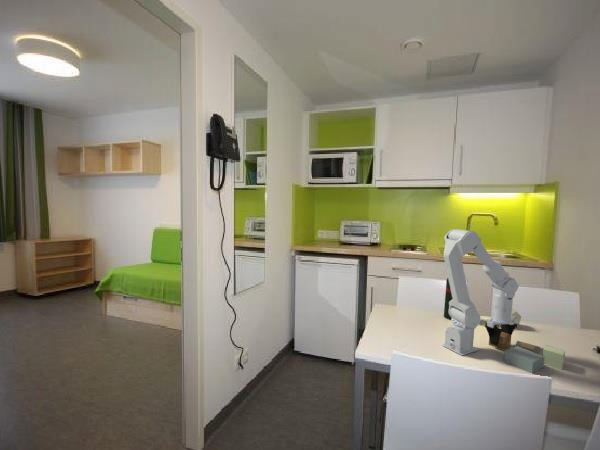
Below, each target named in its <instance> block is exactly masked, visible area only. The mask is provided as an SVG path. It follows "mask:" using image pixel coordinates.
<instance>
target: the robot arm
mask: <svg viewBox="0 0 600 450" xmlns="http://www.w3.org/2000/svg"><path fill="white" fill-rule="evenodd" d="M482 241H483V240H482V237H480V236H479V234H478V233H477V232H476V231H474V230H467V229H458V228H450V230H449V231H448V232H447V233H445V235H444V243H445V244H444V250H443V260H444V264H445V270H446V274H447V278H448V279H449V284H450V289H451V294H452V298H453V299H452V300H451V301H450V302H449V315H450V317H451V318H452V319H451V320H450V321H451V325H450V326H449V327H447V328H446V329H445V339H444V343H443V344H442V346H443V347H445V348H447V349H448V350H451V351H453V352H454V353H456V354H458V355H461V356H465V355H468V354H470V353H474V352H477V351H479V349H478V347H475V346H474V337H475V329H477V327H478V326H479V325H480V324H481V315H480V314H479V312H478V311H477V307H476V305H475V304H474V303H473V301H472V300H471V299H470V294H469V289H468V285H467V280H466V279H467V278H466V275H465V274H466V273H465V270H464V265H463V260H462V259H463V258H464V256H466V255H468V254H469V253H470V252H472V253H473V254H474V256H475V257H476V258H477V260H479V261H480V263H481V264H482V265H483V266H482V270H483V271H484V273H485V274H486V275H487V276H488V278H489V280H490V285H491V287H493V288H494V294H493V296H494V297H493V308H492V316H491V318H490V319H489V320H487V321H486V323H485V324H484V327H485V329H486V331H487V334H488V340H489V339H490V343H491V344H493V345H495V346H497V344H498V341H499V337H500V334H501V332H504V333H507V334H509V335H511V336H512V335H513V333H514V331H515V329H516V328H517V327H518V325H517V324H516V323H514V322H515V317H514V316H511V315H512V308H513V303H514V298H515V296H516V292H517V291H518V290H519V289H518V288H519V285H518V282H517V281H516V280H515V278H513V277H510V275H509V272H508V271H506V270H505V268H504V267H503V264H502V262H501V261H498V260H494V259H493V258H492V256H491V255H490V254H489V251H488V250H487V249H486V246H485V245H484V244H483V243H482ZM499 326H500V328H499Z"/></svg>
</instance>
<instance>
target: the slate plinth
mask: <svg viewBox="0 0 600 450" xmlns="http://www.w3.org/2000/svg"><path fill="white" fill-rule="evenodd" d="M503 359H504V360H503V362H504V363H506V364H508V365H511V366H513V367H516V368H518V369H520V370H523V371H525V372H527V373H530V374H531V373H532V374H534V373H537V371H539V370H542V369H543V368H544V367H545V364H544V356H543V354H542V355H541V354H536V353H534V352H531V351H529V350H526V349H523V348H521V347H518V346H516V347H515V346H514V347H510V348H509V349H506V350H504V358H503Z"/></svg>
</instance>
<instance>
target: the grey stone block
mask: <svg viewBox="0 0 600 450" xmlns="http://www.w3.org/2000/svg"><path fill="white" fill-rule="evenodd" d="M511 316H514V317H515V322H514V323H516V324H517V326H518V325H519V324H520V323H521V322H520V321H521V319H522V316H521V314H519V313H518V312H517V310H515V309H514V308H513V307H512V315H511Z"/></svg>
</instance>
